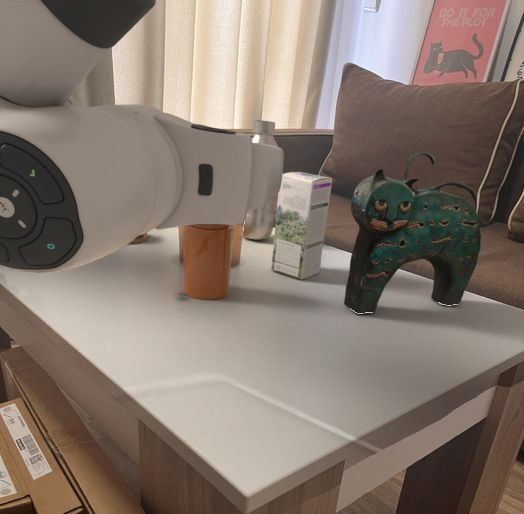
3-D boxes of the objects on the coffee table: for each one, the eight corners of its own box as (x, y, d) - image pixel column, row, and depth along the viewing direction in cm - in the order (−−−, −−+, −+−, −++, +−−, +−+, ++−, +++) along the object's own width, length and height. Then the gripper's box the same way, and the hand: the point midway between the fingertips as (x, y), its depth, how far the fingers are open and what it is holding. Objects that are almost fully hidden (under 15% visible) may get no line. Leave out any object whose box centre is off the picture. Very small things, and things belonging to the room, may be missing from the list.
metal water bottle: (244, 231, 101) (253, 118, 92) (277, 238, 99) (289, 123, 90) (230, 238, 95) (238, 119, 86) (265, 245, 93) (276, 124, 84)
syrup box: (320, 273, 82) (334, 176, 75) (300, 281, 77) (313, 179, 71) (290, 264, 85) (301, 170, 78) (269, 271, 80) (278, 172, 74)
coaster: (104, 245, 85) (104, 241, 85) (92, 231, 91) (92, 228, 91) (154, 242, 89) (154, 239, 88) (139, 229, 95) (139, 226, 95)
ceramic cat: (349, 319, 66) (379, 151, 57) (325, 300, 71) (349, 143, 62) (471, 309, 73) (515, 159, 64) (441, 293, 78) (478, 151, 70)
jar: (194, 302, 66) (197, 220, 62) (175, 285, 71) (176, 208, 66) (237, 296, 69) (243, 218, 65) (216, 281, 74) (220, 207, 69)
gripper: (12, 195, 42) (93, 174, 54) (262, 227, 39) (288, 197, 52) (2, 109, 39) (89, 107, 51) (269, 138, 37) (295, 128, 49)
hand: (190, 152), depth 52 cm, fingers open, 8 cm apart
